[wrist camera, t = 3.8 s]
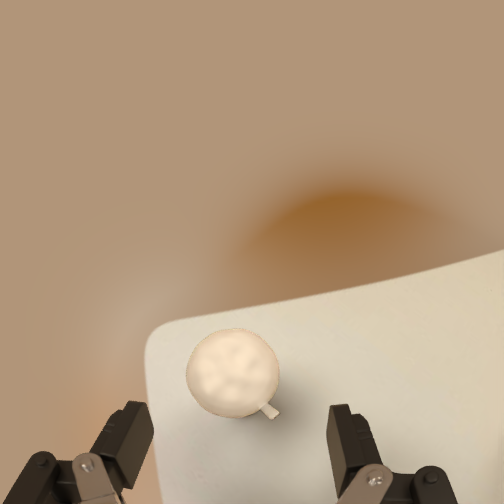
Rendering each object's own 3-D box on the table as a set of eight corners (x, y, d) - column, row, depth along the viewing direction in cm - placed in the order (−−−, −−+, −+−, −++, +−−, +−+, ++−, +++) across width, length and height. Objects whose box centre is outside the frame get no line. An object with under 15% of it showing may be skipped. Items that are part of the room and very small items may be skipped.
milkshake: (249, 440, 19) (233, 451, 11) (201, 387, 22) (156, 357, 13) (297, 400, 21) (316, 380, 12) (248, 349, 23) (233, 297, 15)
